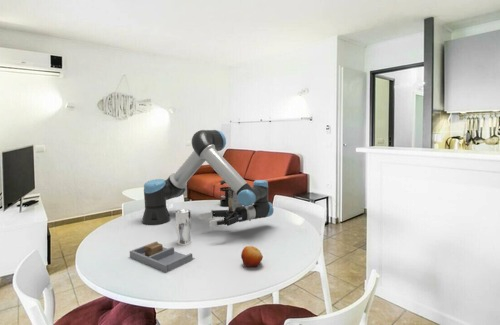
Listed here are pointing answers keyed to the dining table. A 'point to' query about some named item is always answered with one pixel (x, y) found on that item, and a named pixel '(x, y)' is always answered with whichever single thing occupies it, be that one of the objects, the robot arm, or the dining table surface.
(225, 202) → the french press
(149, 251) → the walnut block
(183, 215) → the beer glass
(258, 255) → the fruit
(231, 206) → the coffee box
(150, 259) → the tray
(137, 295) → the dining table surface
